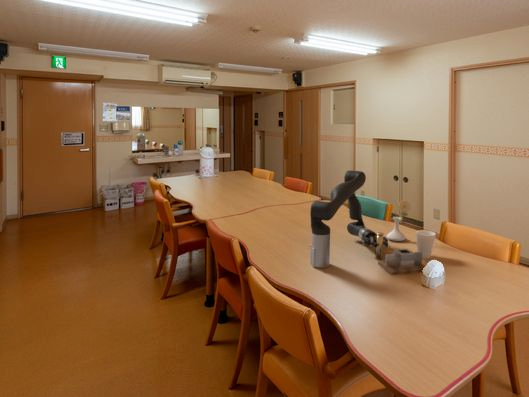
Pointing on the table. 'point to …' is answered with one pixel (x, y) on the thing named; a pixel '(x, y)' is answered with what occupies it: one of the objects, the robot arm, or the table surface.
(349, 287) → the table surface
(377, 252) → the brass capped peg
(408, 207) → the flower in vase
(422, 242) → the foam cup
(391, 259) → the grey winged socket holder
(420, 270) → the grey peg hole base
